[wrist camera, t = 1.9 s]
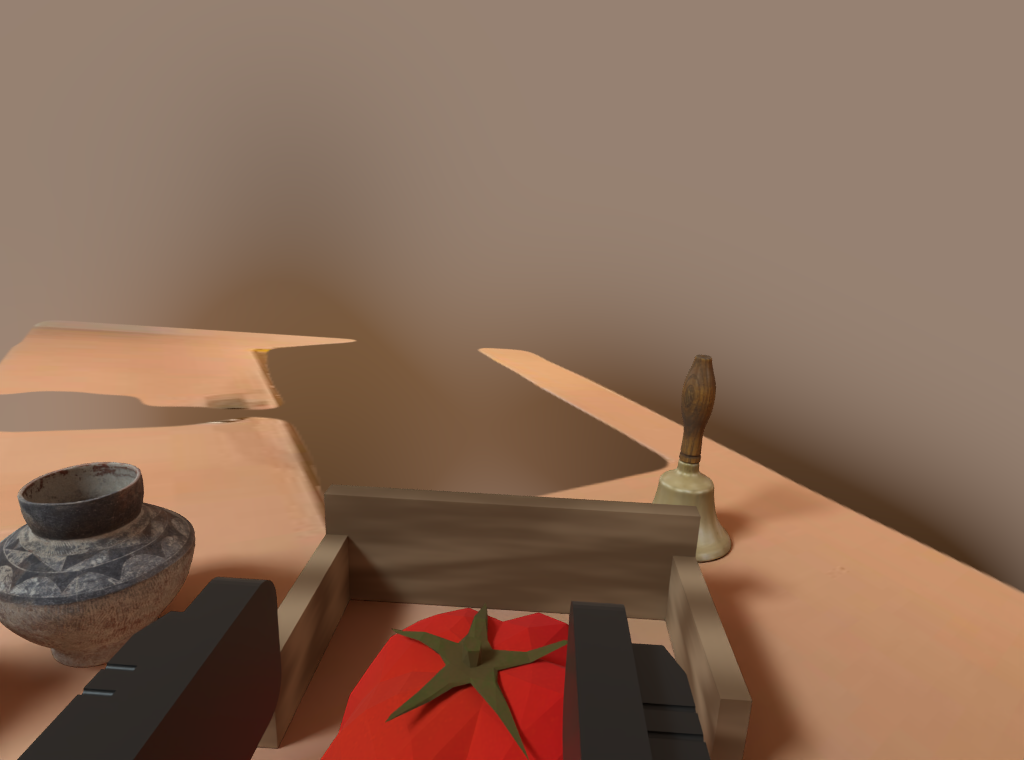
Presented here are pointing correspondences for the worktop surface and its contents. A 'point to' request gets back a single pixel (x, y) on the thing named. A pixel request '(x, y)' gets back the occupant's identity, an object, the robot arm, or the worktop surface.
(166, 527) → the pottery
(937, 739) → the worktop surface
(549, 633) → the tomato
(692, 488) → the hand bell
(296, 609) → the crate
